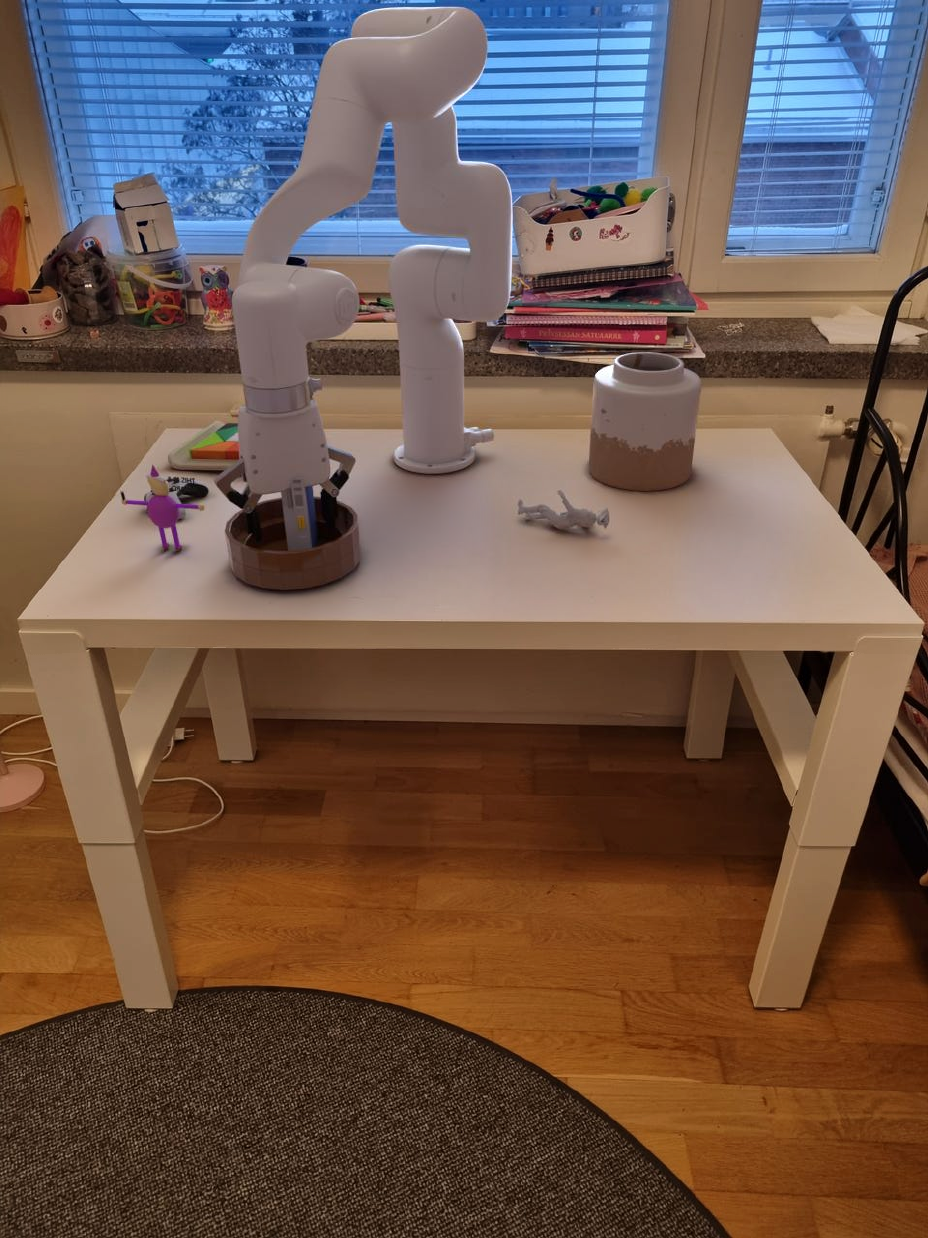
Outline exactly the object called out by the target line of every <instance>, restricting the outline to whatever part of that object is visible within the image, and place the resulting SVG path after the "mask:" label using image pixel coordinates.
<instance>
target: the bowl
mask: <svg viewBox="0 0 928 1238" xmlns="http://www.w3.org/2000/svg"><path fill="white" fill-rule="evenodd" d="M314 503H315V513H316V522H317V532H318V539H317V544H316V547H313V548H309V549H304V550H296V551H288V544H287V536H286V528H285V520H284V512H283V504H282V497H277V498H272V499H266V500H262V501H260V502H259V501H258V503H257V505H256V506H255V508H256V509H257V511H258V513H259V519H260V526H261V534H262V540H261V542H256V541H255V539H254V537H253V536H252V534H248V533H247V531H246V527H245V521H244V514H243V510H242V509H241V510H239V511H237V512H236V513H234V514H233V515H232V516H231V517H230V518H229V520H227V521H226V524H225V528H224V535H225V542H226V548H227V555H228V560H229V566H230V569H231V572H232V573H233V574H234V576H235V577H236V578H238V579H239V580H240V581H242V582H244V583H245V584H247V585H250V586H254V587H256V588H257V587H258V588H261V589H270V590H279V591H288V590H289V591H290V590H303V589H304V590H305V589H310V588H314V587H318V586H323V585H326V584H329V583H331V582H334V581H336V580H339V579H341V578H343V577H345V576H346V575H347V574H349V573H350V572H352V571H353V570H354V569H355V568H356V567H357V565H358V563H359V562H360V561H361V559H362V556H361V554H362V553H361V539H360V525H359V515H358V513H357V512H356V511H355V510H354V509H353V507H352V506H349V505H347V504H346V503H344V502H342V501H340V500H337V508H338V517H335V527H329V526H328V524H327V523H326V522H325V521H324V519H323V515H322V505H321V496H314Z"/></svg>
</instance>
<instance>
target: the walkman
mask: <svg viewBox="0 0 928 1238" xmlns="http://www.w3.org/2000/svg"><path fill="white" fill-rule="evenodd" d="M290 480H291V489H290V488H287V489H286V491H283V492H280V496H281V498H282V504H283V512H284V520H285V528H286V536H287V544H288V551H296V550H304V549H309V548H313V547H316V544H317V539H318V532H317V522H316V513H315V503H314V497H315V495H314V486H310V487H304V485H303V478H302V477H297V478H292V479H290Z"/></svg>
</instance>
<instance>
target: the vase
mask: <svg viewBox="0 0 928 1238" xmlns="http://www.w3.org/2000/svg"><path fill="white" fill-rule="evenodd" d="M701 393H702V380H701V377H700V376H699V375H698V374H697V373H696V372H695V371H692V370H690V369H688V368H685V363H684V361H683V360H682V359H680V358H679V357H677V356H673V355H670V354H667V353H660V352H650V351H647V352H646V351H641V352H631V353H625V354H622V355H619V356H618V357H616V358H615V359H614V361H613V364H612V365H607V366H605V367H602V368H601V369H600V370H598V372H596V373H595V376H594V379H593V386H592V403H591V418H590V419H591V420H590V434H589V451H588V471H589V473H590V475H591V476H592V477H593V478H594V479H596V480H597V481H598V482H601V483H603V484H605V485H607V486H609V487H614V488H617V489H620V490H621V489H622V490H627V491H636V492H637V491H638V492H654V491H663V490H668V489H672V488H675V487H678V486H681V485H683V484H684V483H685V482H687V481H688V480H689V478H690V476H691V474H692V467H693V460H694V452H695V443H696V434H697V426H698V419H699V418H698V417H699V411H700V410H699V409H700V402H701Z"/></svg>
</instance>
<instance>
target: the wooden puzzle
mask: <svg viewBox="0 0 928 1238" xmlns="http://www.w3.org/2000/svg"><path fill="white" fill-rule="evenodd" d="M167 460H168V464H169V466H171V467H172V468H173V469H176V470H186V471H187V470H188V471H189V470H191V471H225V470H226V469H227V468H229V467H230V466H231V465H232V464H234V463H235V462H236V461H238V460H239V445H238V422H227V423H223V422H222V421H220V420H215V421H214V422H212V423H211V424H209V425H208V426H206V427H205V428H204V429H202V430H200V431H199V432H198V433H196V434H195V435H193V436H192V437H190V438H189V439H188V440H187V441H184V443H182V444H181V445H179V446H178V447H176V448H175V449H174V450H172V451H171V452H170V453H169V454H168V455H167Z"/></svg>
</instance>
